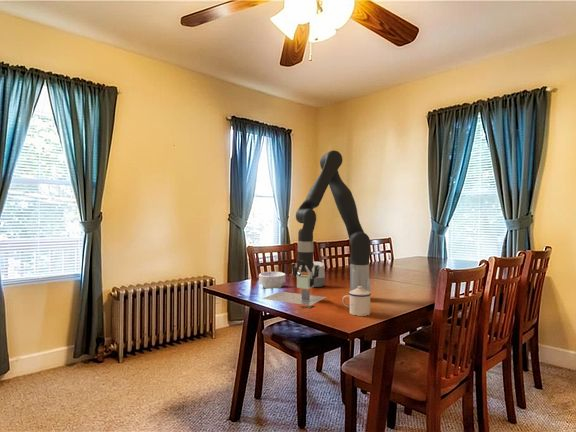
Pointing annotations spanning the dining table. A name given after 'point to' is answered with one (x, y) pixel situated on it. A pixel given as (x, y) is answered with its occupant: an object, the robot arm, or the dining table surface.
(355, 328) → the dining table surface
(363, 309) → the teacup with lid
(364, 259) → the robot arm
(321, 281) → the smart speaker
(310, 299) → the plate
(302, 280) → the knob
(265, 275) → the white round bowl
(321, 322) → the dining table surface
